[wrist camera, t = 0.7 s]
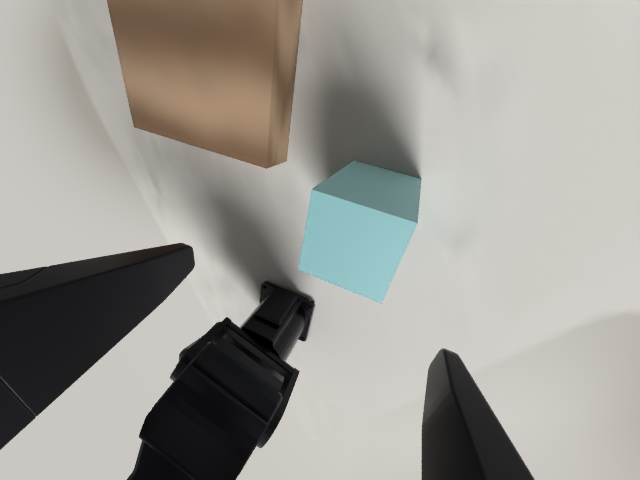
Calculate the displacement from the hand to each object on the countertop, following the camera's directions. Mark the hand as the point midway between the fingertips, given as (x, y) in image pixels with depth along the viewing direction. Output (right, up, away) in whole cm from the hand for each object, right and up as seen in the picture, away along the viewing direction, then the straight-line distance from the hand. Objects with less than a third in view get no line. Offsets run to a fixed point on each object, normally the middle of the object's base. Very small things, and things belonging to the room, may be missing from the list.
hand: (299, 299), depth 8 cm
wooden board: (-7, +16, +10) cm, 20 cm away
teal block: (+5, +5, +11) cm, 13 cm away
